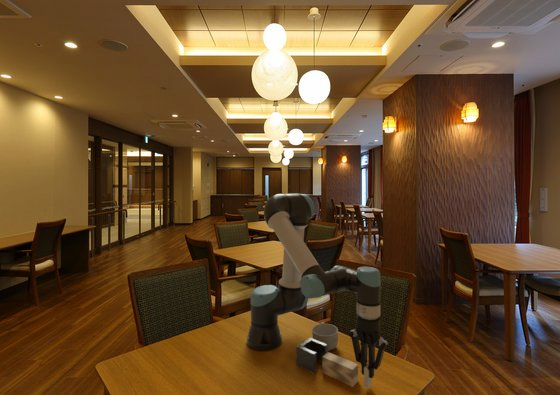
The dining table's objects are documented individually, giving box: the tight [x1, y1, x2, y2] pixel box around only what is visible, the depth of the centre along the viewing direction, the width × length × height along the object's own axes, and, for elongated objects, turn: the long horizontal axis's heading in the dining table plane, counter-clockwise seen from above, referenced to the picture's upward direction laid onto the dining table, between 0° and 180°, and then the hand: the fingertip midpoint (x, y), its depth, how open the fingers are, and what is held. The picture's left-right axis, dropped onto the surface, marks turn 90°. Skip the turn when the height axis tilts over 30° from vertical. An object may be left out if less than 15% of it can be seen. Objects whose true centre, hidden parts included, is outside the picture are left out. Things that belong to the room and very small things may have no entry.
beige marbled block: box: [321, 351, 359, 388], centre depth 105 cm, size 12×4×6 cm, turn 49°
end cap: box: [295, 337, 328, 374], centre depth 113 cm, size 8×9×7 cm
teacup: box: [311, 321, 339, 352], centre depth 126 cm, size 14×11×8 cm
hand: (367, 385), depth 98 cm, fingers closed
